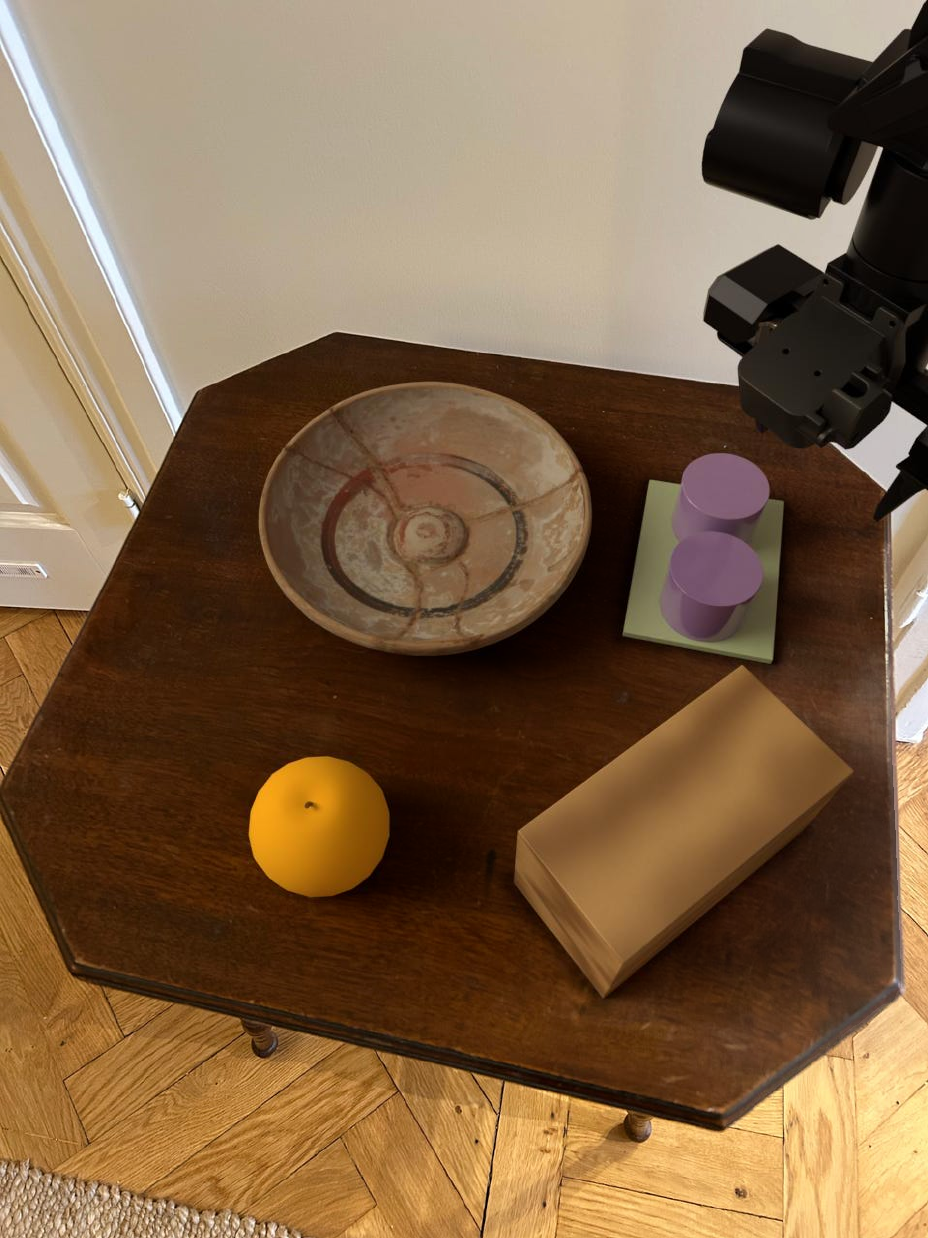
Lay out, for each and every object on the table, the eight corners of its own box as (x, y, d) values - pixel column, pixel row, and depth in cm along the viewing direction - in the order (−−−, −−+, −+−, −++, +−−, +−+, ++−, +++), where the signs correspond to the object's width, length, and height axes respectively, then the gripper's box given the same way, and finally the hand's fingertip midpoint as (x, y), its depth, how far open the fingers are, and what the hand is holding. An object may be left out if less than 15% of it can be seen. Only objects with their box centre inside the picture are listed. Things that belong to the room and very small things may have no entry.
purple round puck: (765, 612, 62) (783, 574, 59) (701, 658, 60) (716, 622, 57) (703, 556, 65) (716, 516, 61) (640, 598, 63) (650, 560, 59)
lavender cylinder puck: (771, 531, 66) (788, 491, 62) (712, 572, 64) (725, 533, 60) (712, 481, 69) (725, 440, 65) (653, 519, 67) (663, 478, 63)
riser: (804, 829, 55) (854, 770, 47) (603, 999, 50) (623, 964, 42) (709, 733, 58) (742, 664, 51) (513, 882, 53) (517, 831, 46)
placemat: (770, 664, 61) (773, 660, 60) (622, 636, 62) (623, 631, 62) (782, 506, 68) (784, 500, 68) (648, 484, 69) (649, 479, 69)
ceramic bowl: (236, 667, 62) (218, 628, 57) (308, 417, 74) (297, 370, 70) (578, 698, 60) (585, 660, 56) (592, 436, 72) (599, 389, 68)
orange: (404, 789, 57) (393, 739, 50) (383, 918, 52) (369, 880, 46) (279, 777, 57) (252, 725, 51) (249, 902, 53) (216, 863, 47)
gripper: (651, 219, 45) (619, 444, 58) (974, 435, 36) (850, 642, 49) (808, 138, 48) (744, 368, 61) (1139, 318, 39) (981, 541, 52)
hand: (820, 471), depth 56 cm, fingers open, 9 cm apart
